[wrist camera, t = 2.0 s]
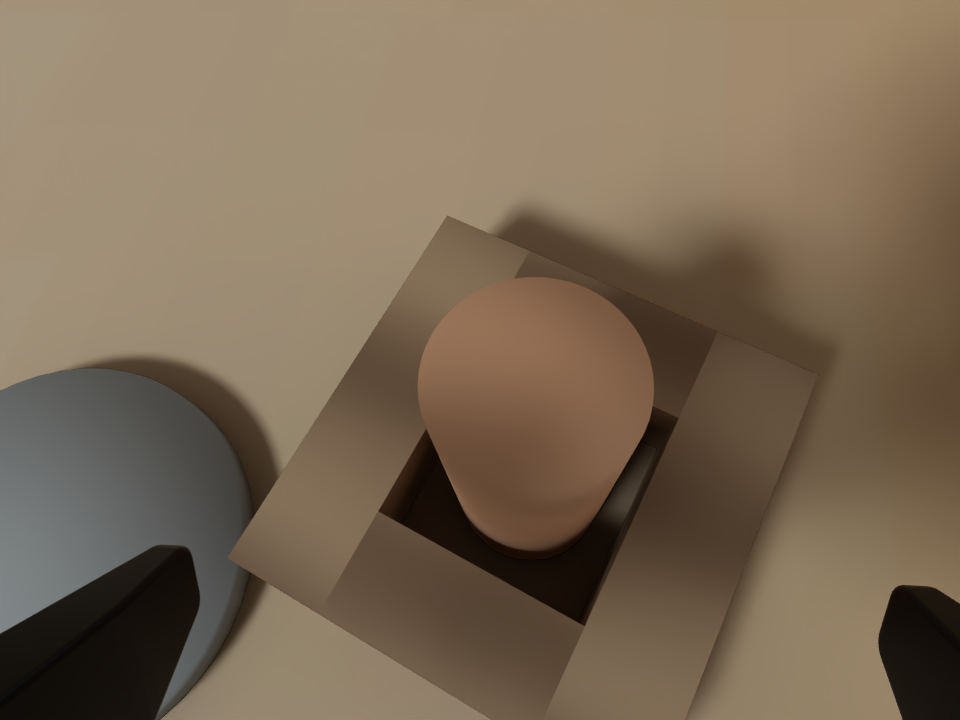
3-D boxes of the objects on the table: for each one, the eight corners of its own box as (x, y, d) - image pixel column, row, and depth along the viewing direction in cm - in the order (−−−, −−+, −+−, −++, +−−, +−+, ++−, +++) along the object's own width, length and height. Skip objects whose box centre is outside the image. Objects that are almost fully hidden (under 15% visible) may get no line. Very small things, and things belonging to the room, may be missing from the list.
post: (561, 586, 19) (592, 544, 11) (436, 517, 20) (373, 428, 11) (620, 460, 20) (691, 333, 12) (500, 401, 21) (486, 244, 13)
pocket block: (627, 786, 17) (648, 815, 14) (269, 569, 19) (227, 558, 17) (777, 411, 20) (818, 375, 18) (456, 266, 23) (447, 215, 20)
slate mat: (86, 865, 17) (61, 878, 16) (-203, 638, 20) (-239, 638, 19) (326, 477, 20) (317, 469, 19) (54, 326, 23) (34, 313, 22)
